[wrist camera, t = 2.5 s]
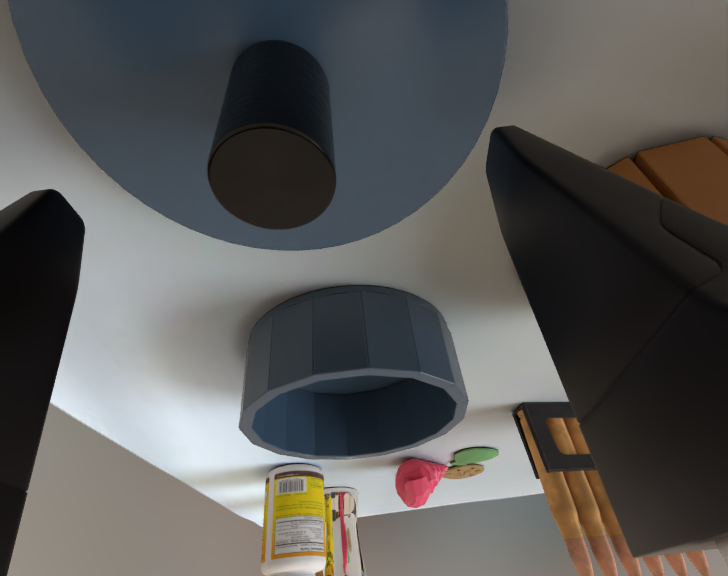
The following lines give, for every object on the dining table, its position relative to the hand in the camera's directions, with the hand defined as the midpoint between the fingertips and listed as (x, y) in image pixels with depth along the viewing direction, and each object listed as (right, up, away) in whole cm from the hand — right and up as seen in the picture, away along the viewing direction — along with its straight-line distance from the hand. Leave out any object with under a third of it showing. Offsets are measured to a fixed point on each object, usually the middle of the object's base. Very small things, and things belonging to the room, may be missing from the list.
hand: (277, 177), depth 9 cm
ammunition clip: (+19, -12, +25) cm, 34 cm away
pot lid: (0, +3, +3) cm, 4 cm away
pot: (+1, -6, +15) cm, 16 cm away
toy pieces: (+10, -21, +35) cm, 42 cm away
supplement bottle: (-5, -20, +32) cm, 38 cm away
